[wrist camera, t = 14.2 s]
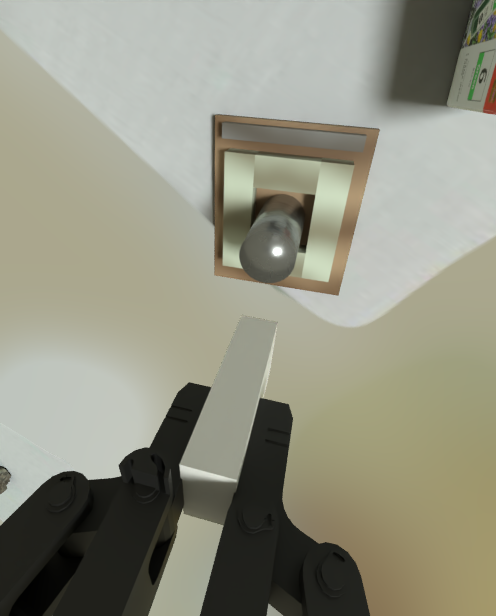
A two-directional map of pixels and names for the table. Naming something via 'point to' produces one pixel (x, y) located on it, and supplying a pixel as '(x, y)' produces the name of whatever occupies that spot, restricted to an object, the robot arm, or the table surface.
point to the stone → (4, 479)
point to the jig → (291, 191)
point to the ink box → (477, 62)
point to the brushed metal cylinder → (273, 240)
